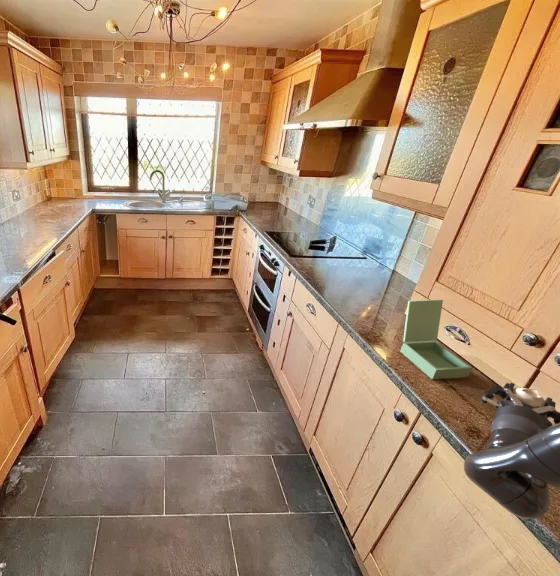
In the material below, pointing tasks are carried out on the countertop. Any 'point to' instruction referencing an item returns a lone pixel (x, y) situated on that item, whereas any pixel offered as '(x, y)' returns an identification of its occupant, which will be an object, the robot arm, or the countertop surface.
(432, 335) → the caddy lid
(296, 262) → the countertop surface
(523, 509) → the robot arm
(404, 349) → the tray
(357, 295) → the countertop surface
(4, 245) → the countertop surface
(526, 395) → the candle
